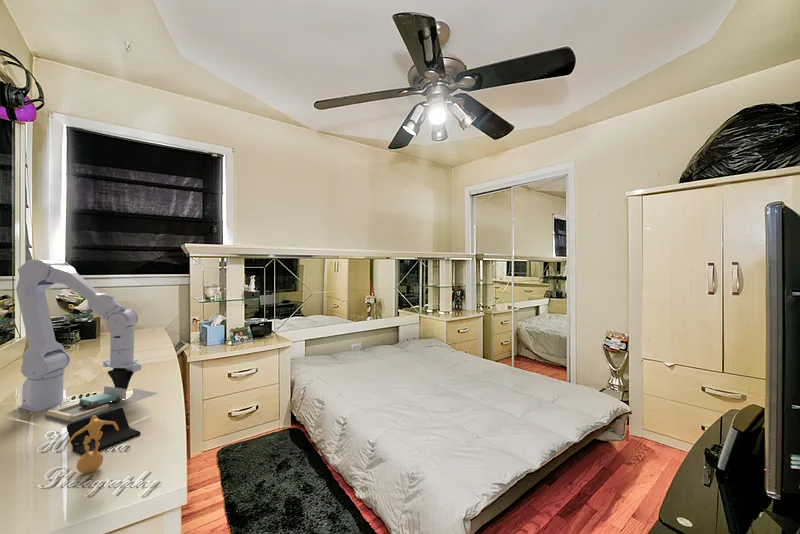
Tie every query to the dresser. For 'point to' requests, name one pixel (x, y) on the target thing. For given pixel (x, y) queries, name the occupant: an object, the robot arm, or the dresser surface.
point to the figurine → (93, 458)
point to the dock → (80, 413)
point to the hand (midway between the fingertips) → (121, 391)
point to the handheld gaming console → (109, 431)
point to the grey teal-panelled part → (104, 397)
